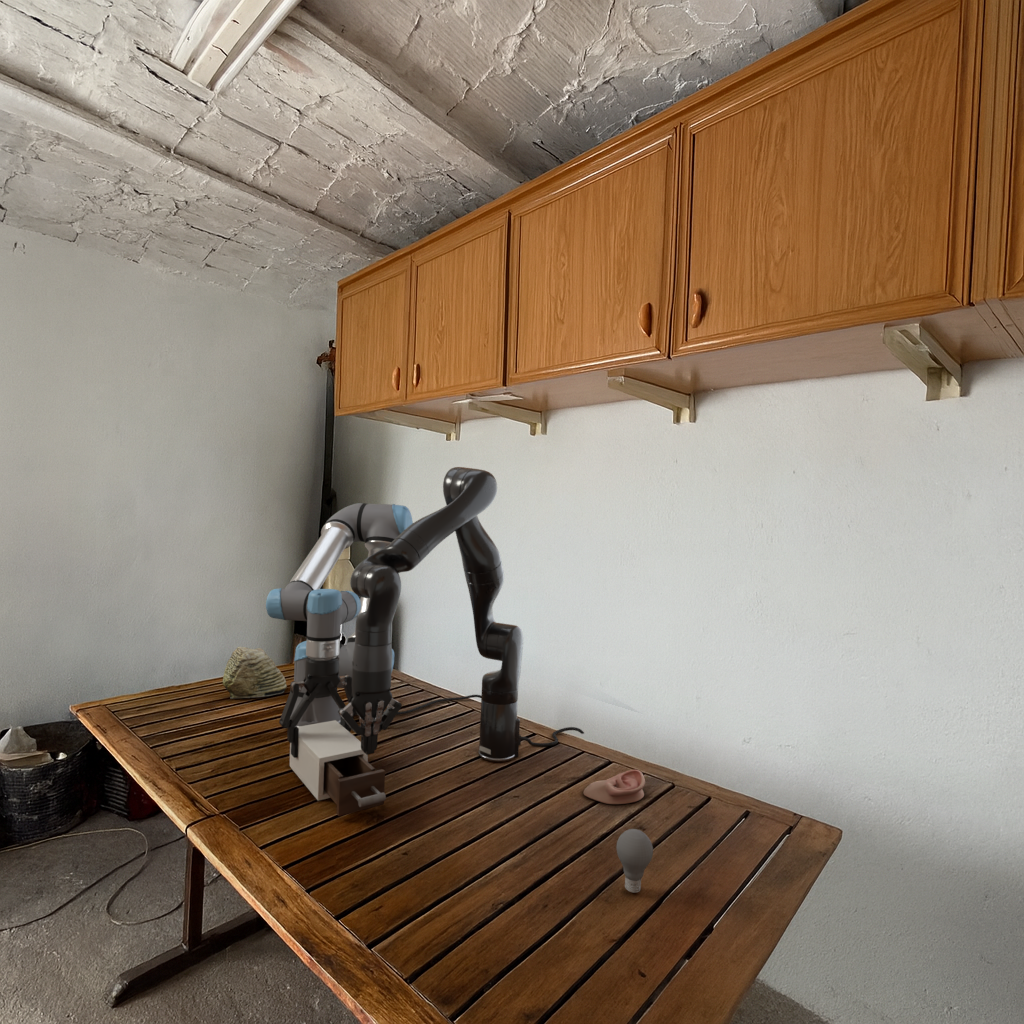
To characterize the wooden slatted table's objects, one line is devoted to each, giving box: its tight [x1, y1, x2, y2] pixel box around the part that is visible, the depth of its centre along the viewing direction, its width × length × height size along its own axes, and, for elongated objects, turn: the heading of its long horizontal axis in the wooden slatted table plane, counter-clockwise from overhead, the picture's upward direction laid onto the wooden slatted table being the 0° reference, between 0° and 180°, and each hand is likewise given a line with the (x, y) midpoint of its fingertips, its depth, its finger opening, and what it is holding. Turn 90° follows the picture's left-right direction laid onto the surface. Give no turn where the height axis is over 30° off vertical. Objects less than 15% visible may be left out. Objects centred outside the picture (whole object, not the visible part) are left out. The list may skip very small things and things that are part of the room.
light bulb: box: [615, 828, 654, 894], centre depth 106 cm, size 6×6×10 cm
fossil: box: [222, 646, 288, 699], centre depth 198 cm, size 9×18×15 cm, turn 132°
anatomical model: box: [582, 769, 646, 805], centre depth 141 cm, size 13×4×12 cm
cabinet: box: [289, 720, 369, 802], centre depth 143 cm, size 20×11×9 cm, turn 36°
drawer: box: [323, 755, 387, 817], centre depth 132 cm, size 24×10×7 cm, turn 36°
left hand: (319, 750), depth 147 cm, fingers closed on cabinet, 11 cm apart
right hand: (368, 752), depth 125 cm, fingers closed
